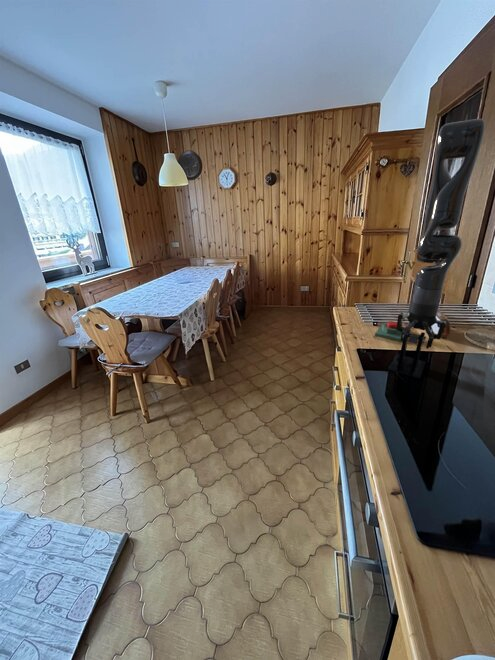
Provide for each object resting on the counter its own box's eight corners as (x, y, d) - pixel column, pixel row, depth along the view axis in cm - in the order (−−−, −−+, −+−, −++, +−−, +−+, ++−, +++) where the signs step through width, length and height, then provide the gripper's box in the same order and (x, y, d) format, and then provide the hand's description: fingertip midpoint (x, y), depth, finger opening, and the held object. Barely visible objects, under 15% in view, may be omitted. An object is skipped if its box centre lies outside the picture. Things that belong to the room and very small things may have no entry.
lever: (408, 338, 99) (410, 331, 98) (424, 342, 96) (426, 335, 96) (403, 340, 88) (405, 333, 88) (421, 344, 85) (423, 337, 85)
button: (388, 324, 114) (388, 320, 113) (398, 326, 111) (398, 322, 111) (385, 327, 111) (386, 323, 110) (395, 330, 109) (396, 326, 108)
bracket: (395, 356, 99) (402, 323, 93) (425, 364, 94) (434, 330, 88) (387, 371, 91) (394, 337, 86) (418, 381, 86) (428, 344, 81)
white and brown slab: (447, 342, 106) (453, 321, 102) (438, 341, 106) (444, 321, 103) (432, 324, 119) (437, 306, 115) (424, 324, 119) (428, 306, 116)
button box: (382, 327, 119) (383, 318, 117) (405, 332, 114) (407, 323, 112) (374, 337, 112) (376, 328, 110) (399, 343, 106) (401, 334, 105)
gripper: (454, 300, 89) (440, 345, 96) (403, 292, 97) (395, 335, 104) (451, 308, 84) (437, 355, 91) (398, 299, 92) (390, 343, 99)
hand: (415, 344), depth 98 cm, fingers open, 7 cm apart
